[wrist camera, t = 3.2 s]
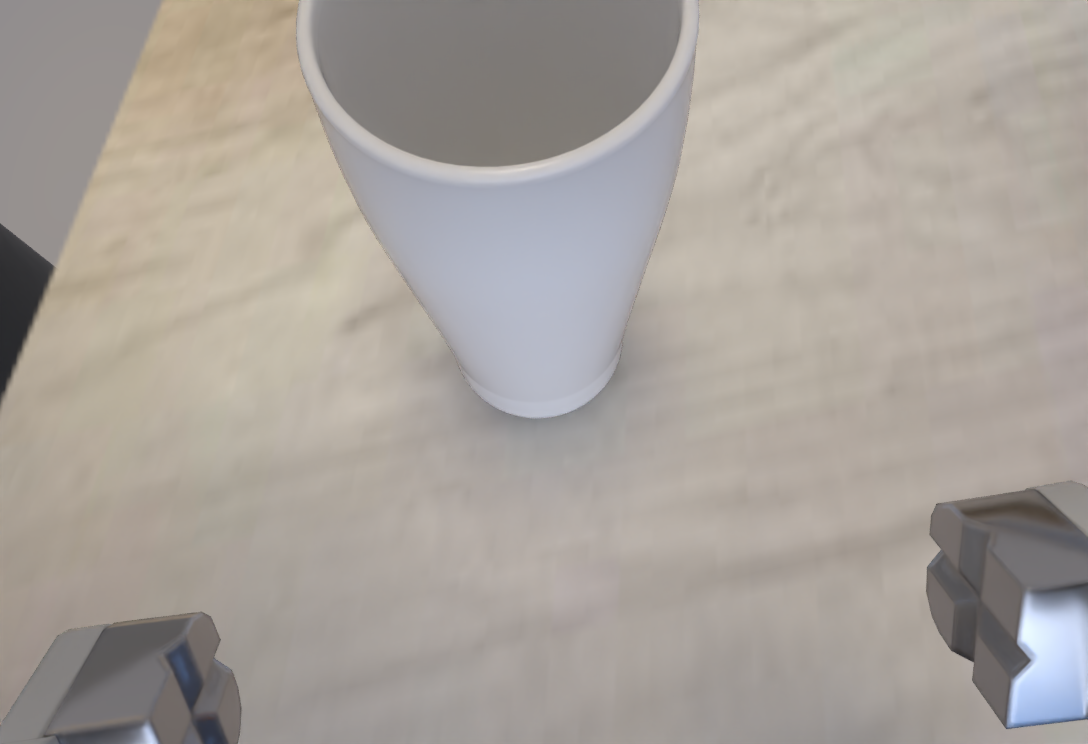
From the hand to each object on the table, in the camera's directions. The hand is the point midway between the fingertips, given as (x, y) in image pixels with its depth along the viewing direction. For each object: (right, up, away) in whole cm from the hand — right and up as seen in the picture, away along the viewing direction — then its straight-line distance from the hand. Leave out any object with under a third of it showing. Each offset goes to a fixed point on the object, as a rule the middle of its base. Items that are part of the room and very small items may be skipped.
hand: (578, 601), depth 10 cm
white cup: (-1, +3, +18) cm, 19 cm away
